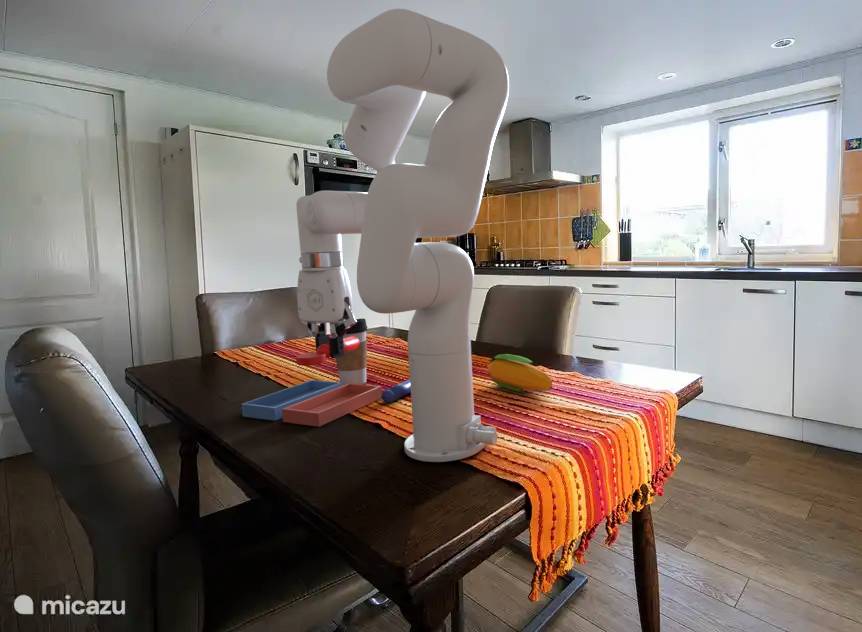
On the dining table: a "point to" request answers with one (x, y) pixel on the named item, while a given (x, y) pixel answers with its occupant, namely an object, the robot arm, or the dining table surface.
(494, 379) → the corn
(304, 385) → the blue tray
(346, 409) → the rose tray
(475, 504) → the dining table surface
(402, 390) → the blue spoon
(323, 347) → the red spoon
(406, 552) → the dining table surface
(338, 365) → the coffee cup
